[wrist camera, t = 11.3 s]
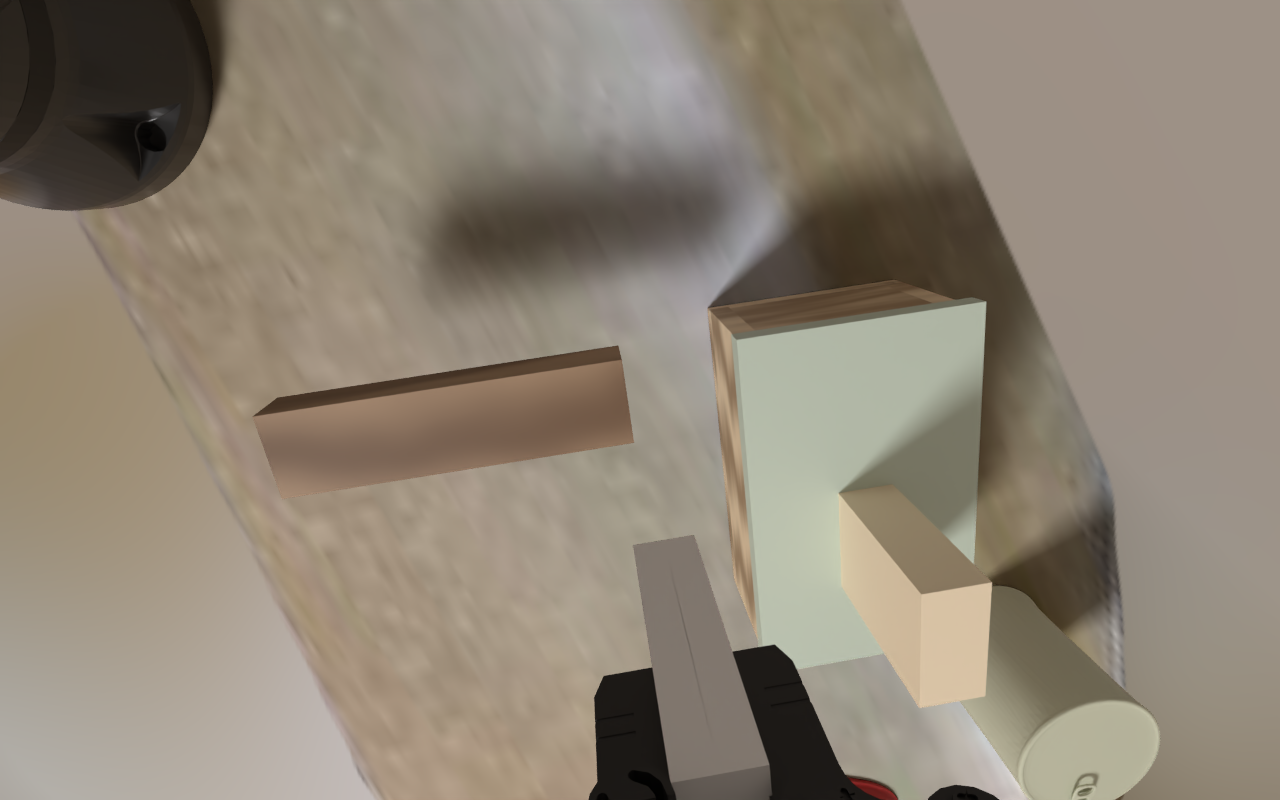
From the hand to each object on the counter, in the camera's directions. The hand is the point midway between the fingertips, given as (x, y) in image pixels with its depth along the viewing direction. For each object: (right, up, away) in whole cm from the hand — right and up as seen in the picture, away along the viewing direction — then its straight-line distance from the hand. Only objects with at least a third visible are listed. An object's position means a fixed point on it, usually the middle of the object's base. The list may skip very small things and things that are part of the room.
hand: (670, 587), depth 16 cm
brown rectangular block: (-9, +4, +15) cm, 18 cm away
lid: (+11, -1, +21) cm, 24 cm away
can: (+26, -14, +35) cm, 46 cm away
